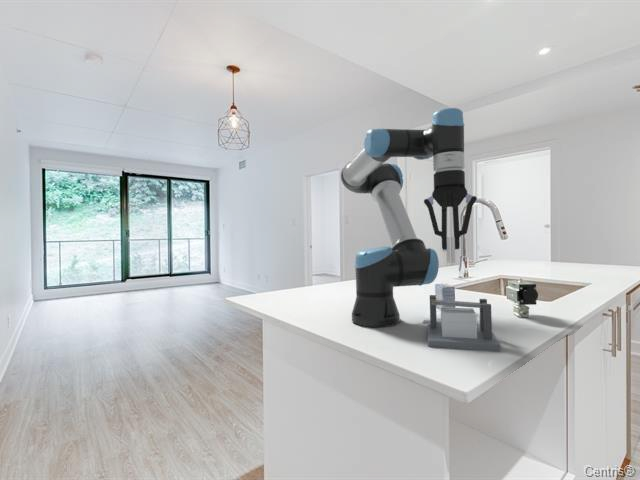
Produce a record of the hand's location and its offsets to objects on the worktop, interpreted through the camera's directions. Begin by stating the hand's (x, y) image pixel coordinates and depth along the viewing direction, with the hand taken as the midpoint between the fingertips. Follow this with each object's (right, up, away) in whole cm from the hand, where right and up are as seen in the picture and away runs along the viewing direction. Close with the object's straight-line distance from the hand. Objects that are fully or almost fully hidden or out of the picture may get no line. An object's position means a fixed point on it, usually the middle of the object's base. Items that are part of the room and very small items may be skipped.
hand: (450, 261), depth 88 cm
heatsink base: (+2, -20, -1) cm, 20 cm away
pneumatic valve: (+29, -19, +19) cm, 40 cm away
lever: (+2, -12, -1) cm, 12 cm away
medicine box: (+10, -19, +31) cm, 38 cm away
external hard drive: (+4, -20, +19) cm, 28 cm away
